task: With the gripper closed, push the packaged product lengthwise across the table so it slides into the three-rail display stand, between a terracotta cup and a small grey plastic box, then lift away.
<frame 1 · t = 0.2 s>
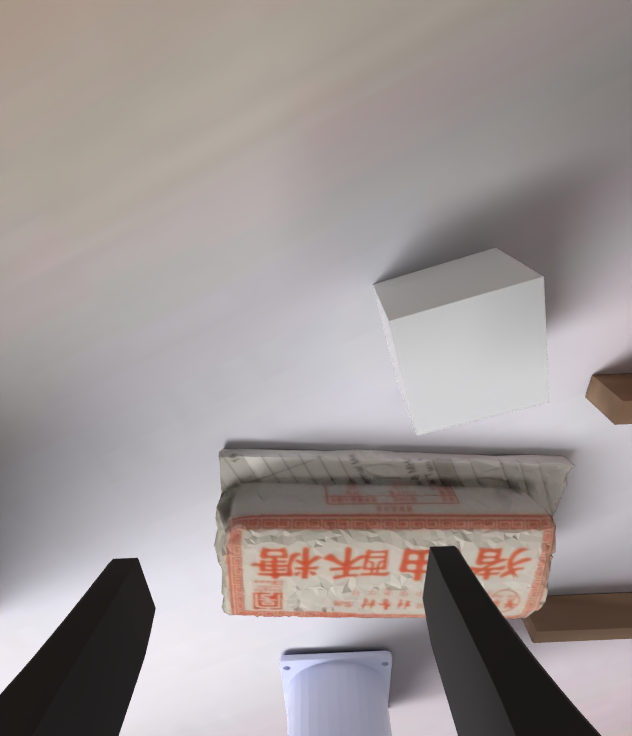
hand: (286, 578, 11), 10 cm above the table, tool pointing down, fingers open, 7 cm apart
packaged product: (383, 509, 25), on the table
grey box: (441, 320, 18), on the table
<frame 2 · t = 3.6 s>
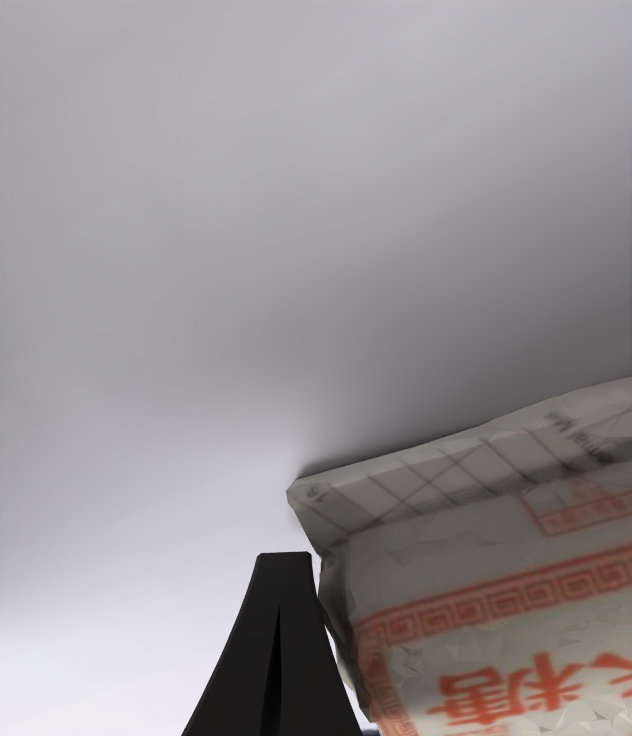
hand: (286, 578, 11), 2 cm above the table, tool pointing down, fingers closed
packaged product: (629, 497, 13), on the table
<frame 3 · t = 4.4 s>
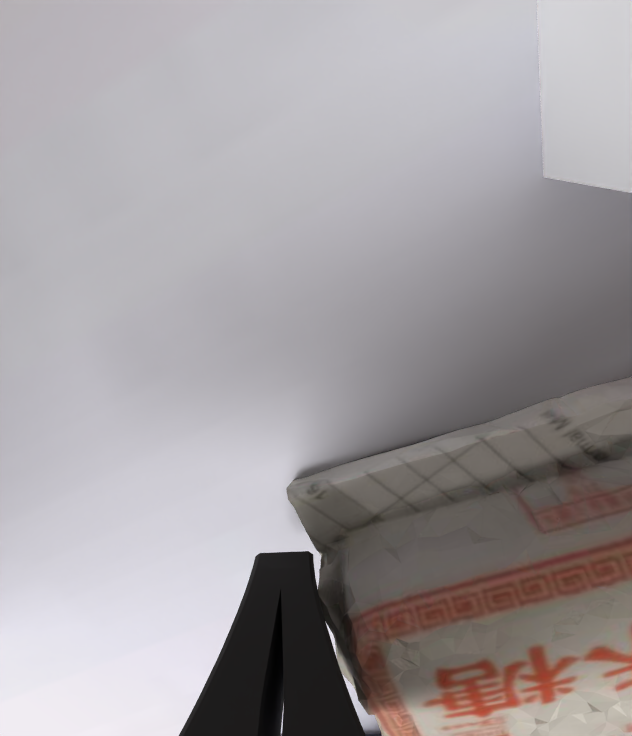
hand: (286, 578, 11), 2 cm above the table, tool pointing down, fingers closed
packaged product: (625, 494, 13), on the table, touching gripper
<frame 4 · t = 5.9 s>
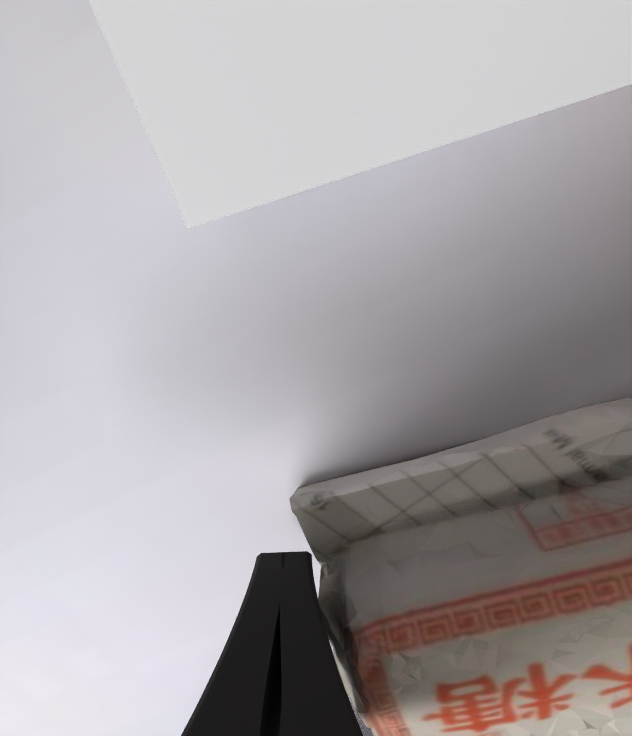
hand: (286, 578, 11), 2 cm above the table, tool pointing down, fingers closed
packaged product: (621, 512, 13), on the table
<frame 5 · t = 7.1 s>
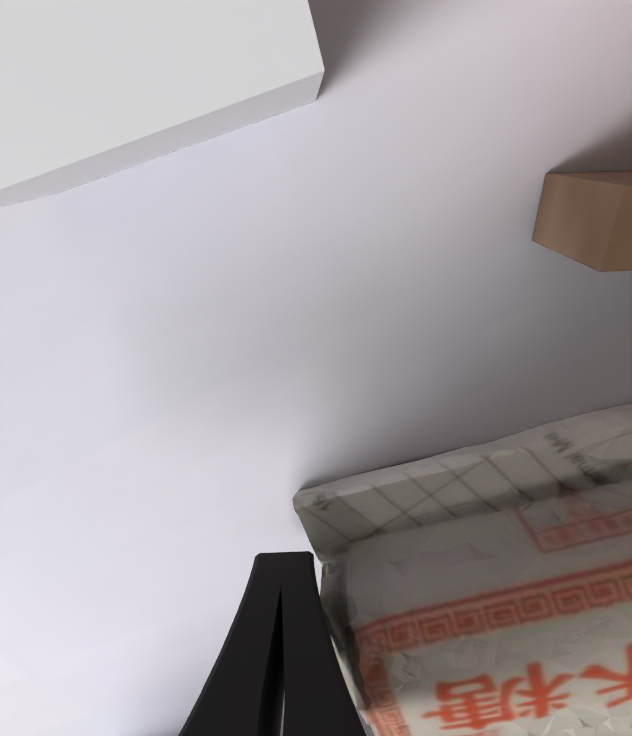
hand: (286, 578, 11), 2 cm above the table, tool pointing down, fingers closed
packaged product: (618, 514, 13), on the table
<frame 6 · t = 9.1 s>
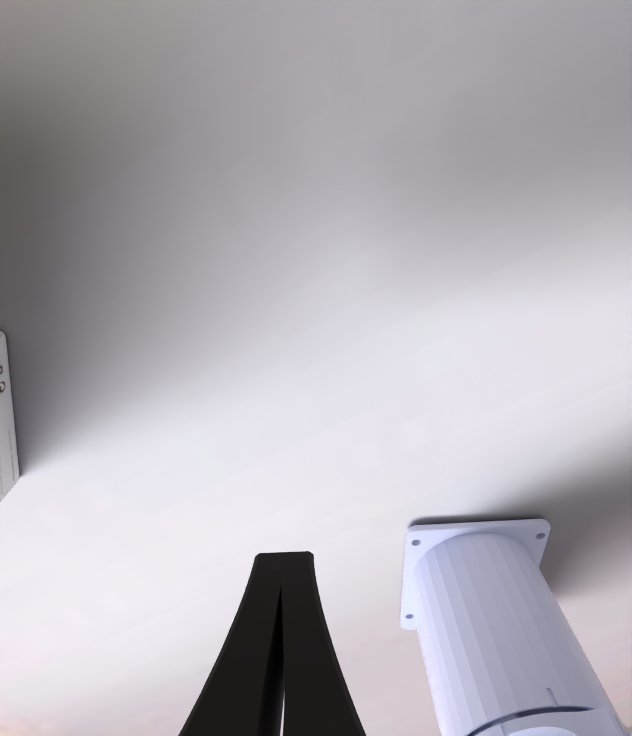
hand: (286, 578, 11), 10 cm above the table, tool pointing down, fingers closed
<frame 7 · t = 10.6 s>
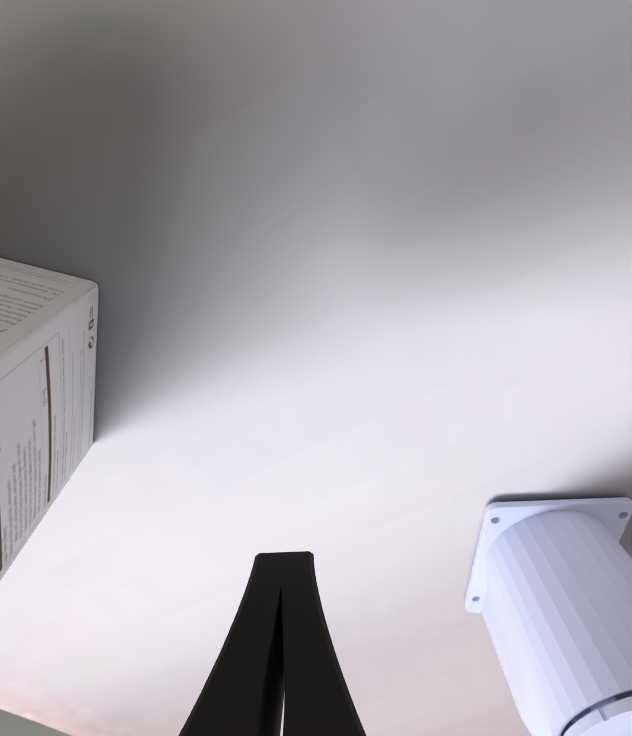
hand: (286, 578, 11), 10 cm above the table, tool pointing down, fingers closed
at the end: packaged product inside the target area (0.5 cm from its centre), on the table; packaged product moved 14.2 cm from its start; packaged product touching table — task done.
